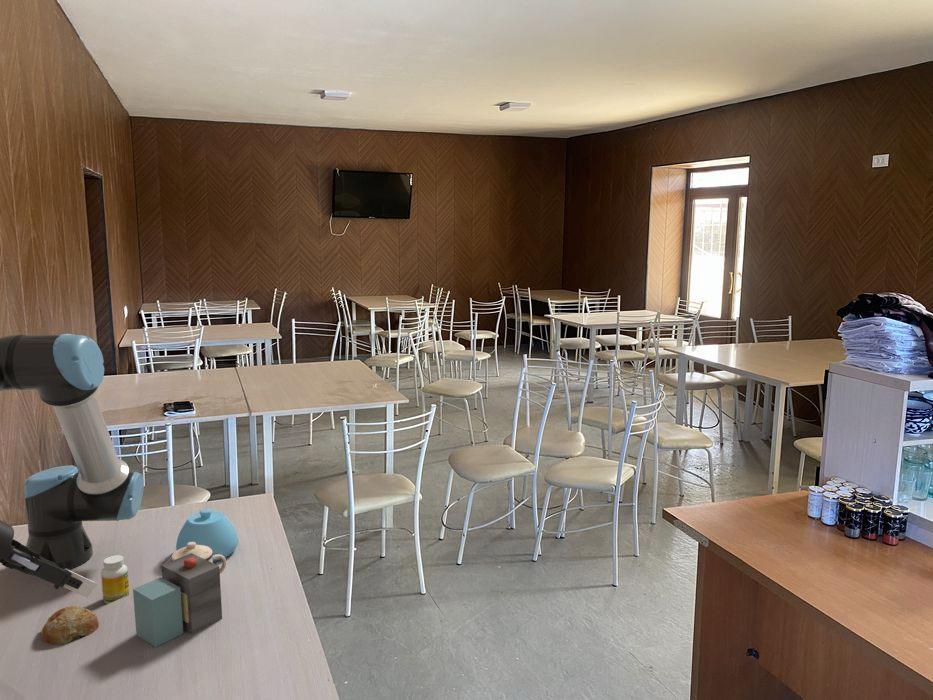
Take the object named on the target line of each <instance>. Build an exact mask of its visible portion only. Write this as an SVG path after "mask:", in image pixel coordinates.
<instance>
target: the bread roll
mask: <svg viewBox="0 0 933 700" xmlns="http://www.w3.org/2000/svg"><path fill="white" fill-rule="evenodd" d="M99 623H100V622H99V619H98V617H97V615H96V613H94V611H92V610H90V609H88V608H84V607H83V606H78V605H76V606H75V605H71V606H67V607H66V606H65V607H63V608H61V609H58V610H56V611H55V612H54V613H52V614H51V616H49V617H48V619H47V621H46V622H45V623H44V625H43V627H42V629H41V633H40V636H41V638H42V641H43V642H44V643H45V644H47V645H48V644H51V645H65V644H69V643H71V641H74V640H77V639H83V638H84V637H87V636H90V635H92V634H93V633H94V632H95V631H97V630H98V628H99V625H100V624H99Z"/></svg>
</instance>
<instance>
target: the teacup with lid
mask: <svg viewBox="0 0 933 700" xmlns="http://www.w3.org/2000/svg"><path fill="white" fill-rule="evenodd" d="M190 553H192V554H195V555H197V556H199V557H201V558H203V559H205V560H207V561H209V562H211V563H214V562H213V561H212V560H214V559H218V558H220V559H222V564H221V566H220V567H219V568H220V575H221V574H222V573H223V572H224V571H225V569H226V567H227V559H226V558H225V557H224V556H223V555H220V554H217V555H213V551H212V549H211V548H209V547H208V546H204V545H196V543H195V542H189V543H187V546H186V547H183V548H181V549H179V550H177V551H176V550H175V551H174V552H173V553H172V555H171V557H170V561H173V560H175V559H178V558H180V557H183V556H185V555H188V554H190Z"/></svg>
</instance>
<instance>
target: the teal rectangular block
mask: <svg viewBox="0 0 933 700" xmlns="http://www.w3.org/2000/svg"><path fill="white" fill-rule="evenodd" d="M132 593H133V594H132V596H133V597H132V598H133V608H134V609H133V610H134V621H135V633H136V636H137V637H139V638H140V639H142V640H143V641H146V643H148V644H150V645H151V646H153V647H154V648H157V647H159V646H161V645H163V644H165V643H167V642H169V641H171V640H173V639H175V638H177V637H179V636H181V635H182V634H184V629H183V620H182V605H181V590H180V587H178V586H176V585H174V584H173V583H171V582H169V581H167V580H165V579H163V578H162V577H159V578H156V579H154V580H151V581H149V582H146V583H144V584H142V585H139V586H137V587H134V588H132Z"/></svg>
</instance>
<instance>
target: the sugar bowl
mask: <svg viewBox="0 0 933 700" xmlns="http://www.w3.org/2000/svg"><path fill="white" fill-rule="evenodd" d="M189 542H195V543H196V545H204V546H208V547H209V548H211V549H212V551H213V555H217V554H220V555H223V556H224V557H225V559H226V558H228V557H230V556H231V555H232V553H234V551H235V550H236V549H237V548H238V546H239V545H238V544H239V537H238V533H237V529H236V528H235V526H234V524H233V523H232V521H231V520H230V519H229V518H228V516H227V515H225V514H224V513H223V512H221V511H217V510H212V509H211V508H203V509H201V510H199V512H196V513H193V514H192V515H190V516H189V517H188V518H187V519H186V520H185V523H184V524H183V526H182V527H181V529H180V530H179V533H178V536H177V540H176V546H175V548H176V549H175V551H177V550H179V549H181V548H183V547H186V546H187V543H189ZM227 556H228V557H227ZM221 560H222V559H220V558H218V559H214V560H212V561H213V563H216V562H219V561H221ZM222 561H223V560H222Z"/></svg>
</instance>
